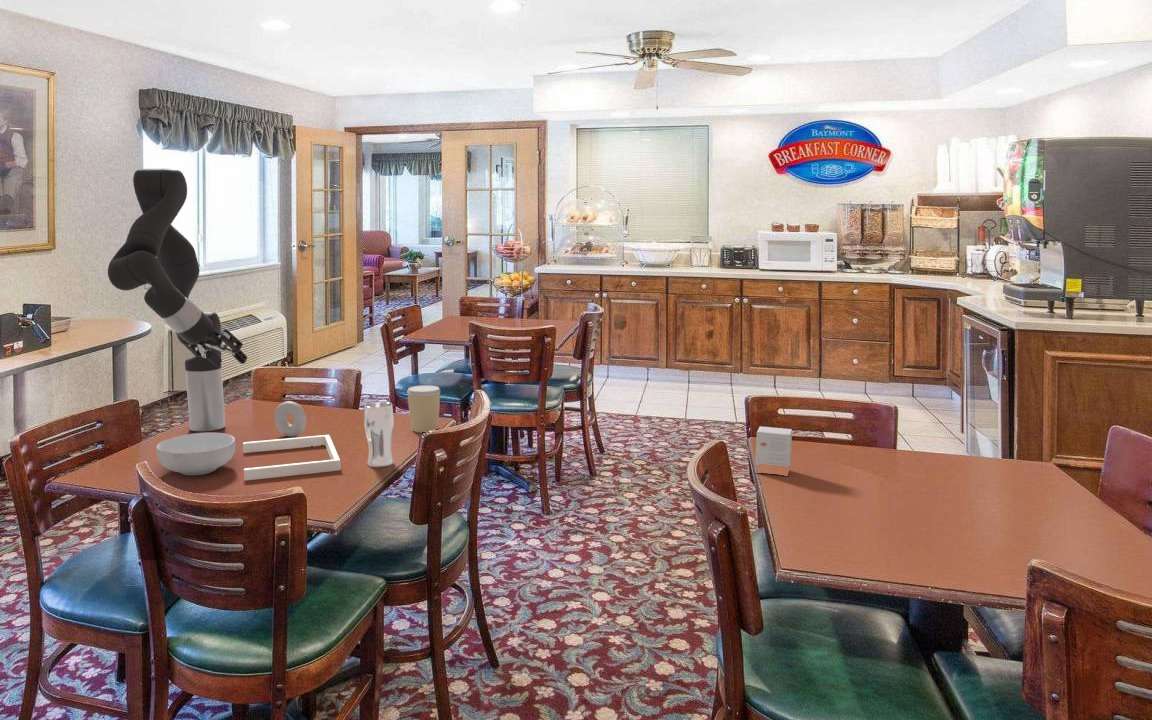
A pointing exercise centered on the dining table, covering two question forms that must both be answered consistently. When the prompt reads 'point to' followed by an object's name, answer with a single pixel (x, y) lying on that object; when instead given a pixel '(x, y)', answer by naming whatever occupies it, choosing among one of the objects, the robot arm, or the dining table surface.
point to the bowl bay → (296, 467)
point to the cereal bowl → (196, 452)
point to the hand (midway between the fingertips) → (232, 362)
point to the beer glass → (379, 433)
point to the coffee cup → (424, 407)
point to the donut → (282, 420)
